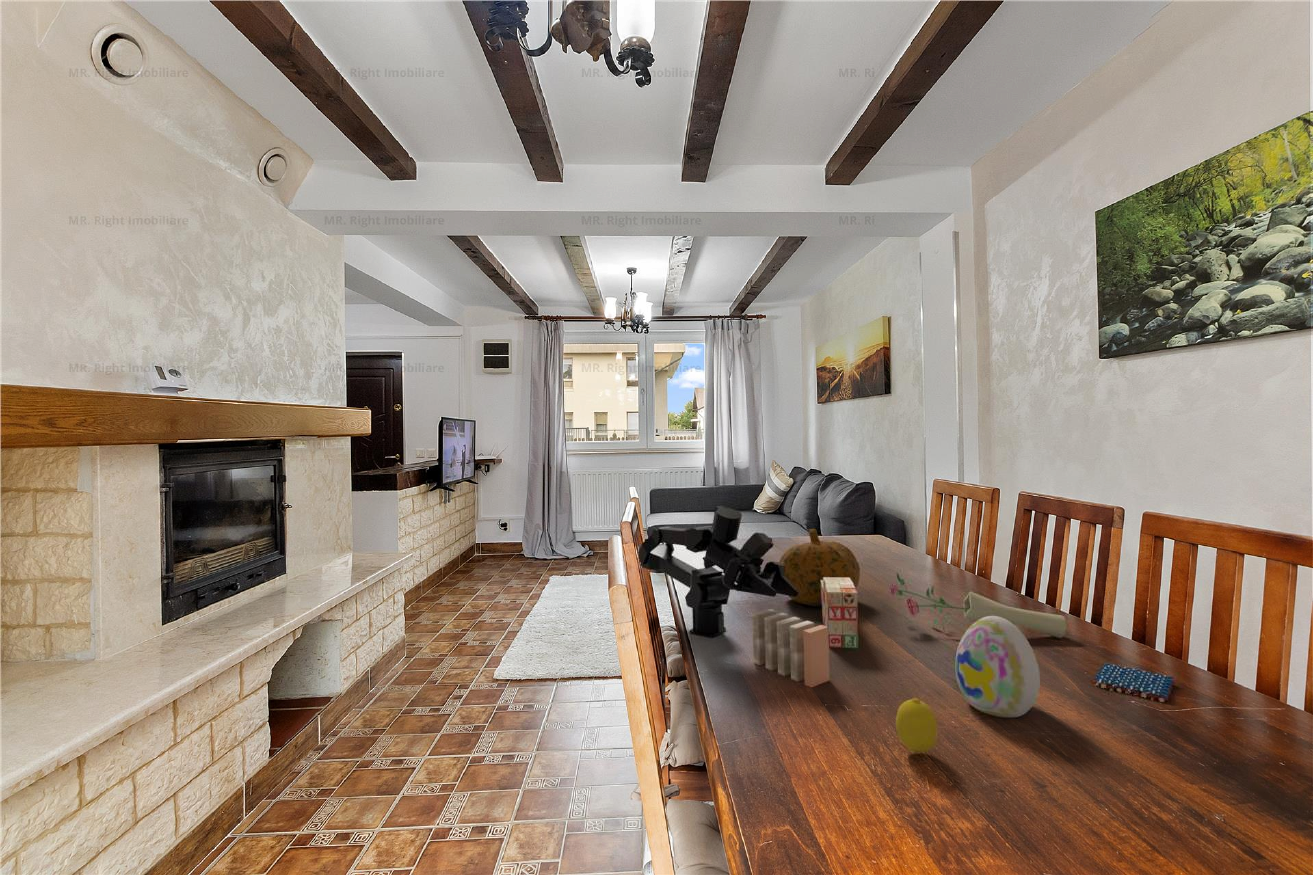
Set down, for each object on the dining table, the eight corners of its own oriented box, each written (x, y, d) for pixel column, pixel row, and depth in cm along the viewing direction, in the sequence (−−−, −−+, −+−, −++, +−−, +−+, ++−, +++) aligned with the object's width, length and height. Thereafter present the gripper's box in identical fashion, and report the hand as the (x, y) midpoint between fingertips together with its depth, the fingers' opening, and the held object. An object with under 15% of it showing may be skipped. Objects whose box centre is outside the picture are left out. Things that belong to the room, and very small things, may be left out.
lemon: (935, 746, 89) (934, 692, 89) (940, 766, 84) (938, 709, 84) (895, 741, 91) (894, 688, 91) (897, 760, 86) (895, 704, 85)
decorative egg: (939, 699, 104) (937, 612, 104) (989, 685, 109) (987, 602, 108) (1005, 731, 93) (1003, 633, 92) (1058, 713, 97) (1056, 621, 97)
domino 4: (791, 678, 114) (789, 626, 114) (808, 671, 117) (807, 620, 117) (797, 681, 113) (796, 628, 113) (815, 674, 116) (814, 622, 115)
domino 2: (765, 668, 119) (764, 617, 119) (783, 661, 122) (782, 612, 122) (771, 670, 118) (770, 619, 118) (789, 664, 121) (788, 614, 121)
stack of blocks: (821, 616, 150) (819, 567, 150) (847, 617, 149) (846, 567, 149) (828, 648, 129) (826, 590, 129) (859, 649, 128) (857, 591, 128)
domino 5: (804, 684, 111) (803, 630, 111) (822, 677, 114) (821, 624, 114) (811, 687, 110) (810, 632, 110) (829, 680, 113) (828, 626, 113)
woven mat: (1101, 670, 115) (1101, 660, 114) (1175, 686, 107) (1175, 675, 107) (1089, 688, 107) (1089, 677, 107) (1168, 707, 100) (1167, 695, 100)
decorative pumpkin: (874, 608, 152) (864, 528, 153) (791, 617, 153) (782, 538, 153) (850, 589, 173) (841, 519, 173) (777, 598, 173) (768, 528, 173)
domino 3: (778, 673, 117) (776, 621, 116) (795, 666, 120) (794, 616, 119) (784, 676, 115) (782, 623, 115) (802, 669, 118) (800, 618, 118)
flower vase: (1056, 677, 128) (885, 634, 136) (1038, 641, 139) (881, 602, 147) (1076, 632, 124) (898, 589, 131) (1056, 598, 135) (893, 561, 143)
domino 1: (753, 663, 122) (752, 613, 122) (771, 656, 125) (770, 608, 125) (759, 665, 121) (758, 615, 121) (777, 659, 124) (775, 610, 124)
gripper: (720, 521, 127) (779, 556, 116) (766, 529, 140) (823, 561, 130) (699, 570, 127) (757, 608, 117) (747, 573, 141) (802, 607, 131)
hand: (787, 594), depth 124 cm, fingers open, 9 cm apart
